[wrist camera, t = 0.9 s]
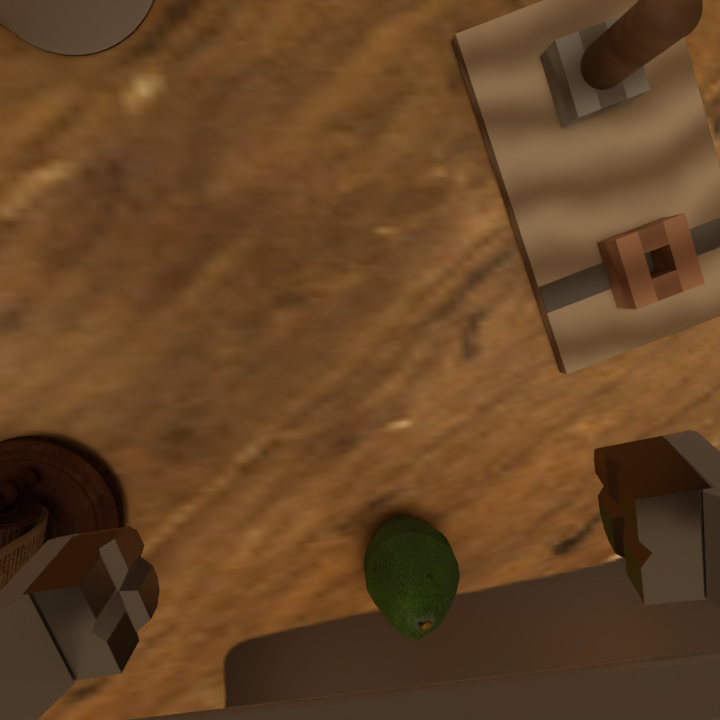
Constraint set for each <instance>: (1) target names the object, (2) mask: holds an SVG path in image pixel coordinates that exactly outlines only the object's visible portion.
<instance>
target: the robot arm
mask: <svg viewBox="0 0 720 720" xmlns="http://www.w3.org/2000/svg"><path fill="white" fill-rule="evenodd" d="M152 2H153V0H0V24H2V25H3V26H5V27H6V28H8V29H9V30H10V31H12V32H13V33H14V34H16V35H17V36H18V37H20V38H21V39H23V40H25V41H26V42H28V43H30V44H32V45H34V46H36V47H38V48H41V49H43V50H46V51H50V52H53V53H58V54H65V55H83V54H90V53H95V52H99V51H102V50H105V49H107V48H109V47H111V46H113V45H115V44H117V43H119V42H120V41H122V40H123V39H124V38H126V37H127V36H128V35H129V34H131V33H132V32H133V31H134V30H135V29H136V28H137V26H138V25H139V24H140V23H141V21H142V20H143V19H144V17H145V16H146V14H147V12H148V10H149V8H150V6H151V4H152ZM594 466H595V473H596V474H597V476H598V478H599V479H600V481H601V482H602V484H603V486H604V487H603V488H602V490H601V491H600V493H599V495H598V501H599V508H600V514H601V518H602V522H603V526H604V530H605V532H606V535H607V537H608V540H609V542H610V544H611V546H612V548H613V550H614V552H615V553H616V554H618V555H619V556H621V557H623V558H625V564H626V572H627V575H628V577H629V579H630V580H631V582H632V584H633V586H634V587H635V589H636V591H637V593H638V594H639V596H640V598H641V600H642V601H643V603H644V605H652V604H662V603H672V602H680V601H691V600H701V599H707V602H709V603H710V604H712V605H713V606H715V607H716V608H718V609H719V610H720V452H719V451H718V450H717V449H716V448H715V447H714V446H713V445H712V444H710V443H709V442H708V441H707V440H706V439H705V438H704V437H703V436H701V435H700V434H699V433H698V432H696V431H692V430H688V431H683V432H678V433H674V434H669V435H664V436H659V437H653V438H648V439H643V440H638V441H633V442H627V443H622V444H617V445H612V446H607V447H602V448H597V449H594ZM143 548H144V544H143V541H142V539H141V537H140V535H139V533H138V531H137V530H135V529H133V528H131V527H129V526H128V527H121V528H114V529H107V530H101V531H94V532H87V533H81V534H72V535H67V536H62V537H57V538H54V539H50V540H48V541H47V542H46V543H45V544H44V545H43V546H42V547H41V548H40V549H39V550H38V551H37V552H36V554H35V555H34V556H33V557H32V558H31V559H30V560H29V561H28V562H27V563H26V564H25V565H24V566H23V567H22V569H21V570H20V571H19V572H18V573H17V574H16V575H15V576H14V577H13V578H12V579H11V580H10V581H9V582H8V583H7V585H6V586H5V587H4V588H3V589H2V590H1V591H0V720H38V719H39V718H40V717H41V716H42V715H43V714H44V713H45V712H46V711H47V710H48V709H49V708H50V707H51V706H52V705H53V704H54V703H55V702H56V701H57V700H58V699H59V698H60V697H61V696H62V695H63V694H64V693H65V692H66V691H67V690H68V689H69V688H70V687H71V686H72V685H73V684H74V683H75V682H74V681H76V680H82V679H89V678H95V677H101V676H107V675H113V674H119V673H122V671H123V670H124V668H125V666H126V664H127V662H128V660H129V659H130V657H131V655H132V653H133V651H134V649H135V648H136V646H137V644H138V642H139V637H138V634H137V631H138V630H139V629H140V628H141V627H142V626H144V625H145V624H146V623H147V622H148V621H150V620H151V618H152V616H153V614H154V612H155V610H156V608H157V604H158V597H159V583H158V577H157V574H156V572H155V569H154V567H153V565H152V564H150V563H149V562H148V561H146V560H145V559H143V558H142V557H141V554H142V551H143ZM129 720H720V650H717V651H707V652H699V653H691V654H682V655H674V656H665V657H656V658H648V659H640V660H631V661H623V662H614V663H607V664H597V665H589V666H580V667H571V668H563V669H555V670H546V671H538V672H530V673H521V674H513V675H504V676H495V677H487V678H478V679H470V680H462V681H453V682H445V683H436V684H428V685H419V686H411V687H402V688H394V689H385V690H376V691H368V692H359V693H351V694H343V695H334V696H326V697H317V698H308V699H300V700H291V701H283V702H274V703H265V704H257V705H248V706H240V707H231V708H223V709H214V710H206V711H197V712H189V713H180V714H172V715H163V716H155V717H146V718H138V719H129Z"/></svg>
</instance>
